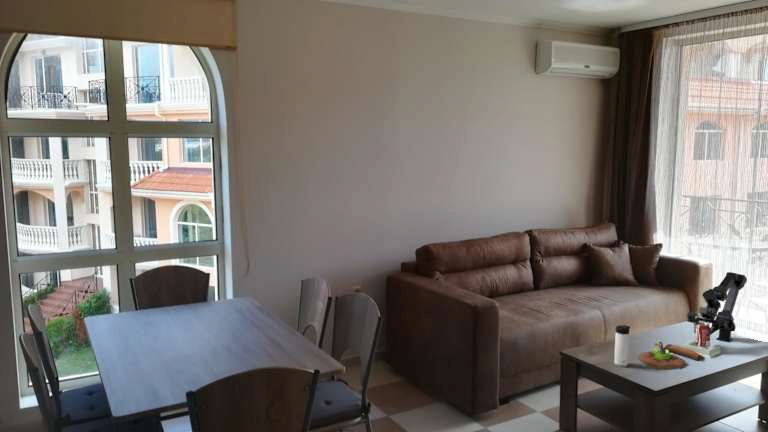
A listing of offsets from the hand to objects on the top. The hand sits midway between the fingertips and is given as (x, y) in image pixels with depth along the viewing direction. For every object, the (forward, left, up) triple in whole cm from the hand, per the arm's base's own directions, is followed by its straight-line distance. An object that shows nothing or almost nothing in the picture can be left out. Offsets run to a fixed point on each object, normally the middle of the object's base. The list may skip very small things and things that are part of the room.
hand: (701, 334), depth 306 cm
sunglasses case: (+10, -3, -10) cm, 15 cm away
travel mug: (+49, -18, -10) cm, 53 cm away
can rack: (-1, 0, -10) cm, 10 cm away
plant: (+30, -7, -10) cm, 33 cm away
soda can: (-1, +1, -7) cm, 7 cm away
